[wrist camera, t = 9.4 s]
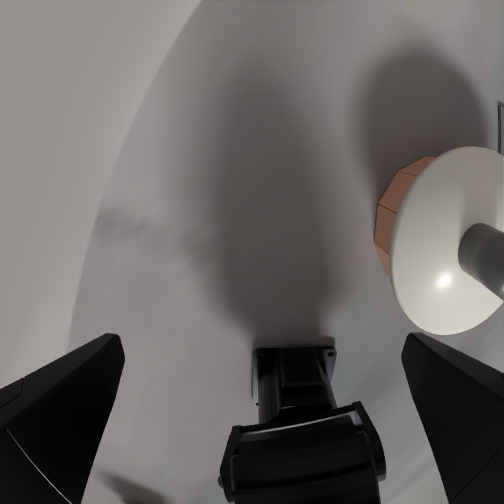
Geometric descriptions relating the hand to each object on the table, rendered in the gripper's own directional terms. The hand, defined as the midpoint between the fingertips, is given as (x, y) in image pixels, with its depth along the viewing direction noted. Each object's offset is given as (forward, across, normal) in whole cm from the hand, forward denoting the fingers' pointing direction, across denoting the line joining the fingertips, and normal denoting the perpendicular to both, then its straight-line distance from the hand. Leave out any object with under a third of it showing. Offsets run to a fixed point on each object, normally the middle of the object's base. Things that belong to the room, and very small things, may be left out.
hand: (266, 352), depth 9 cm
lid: (+8, -13, -1) cm, 15 cm away
